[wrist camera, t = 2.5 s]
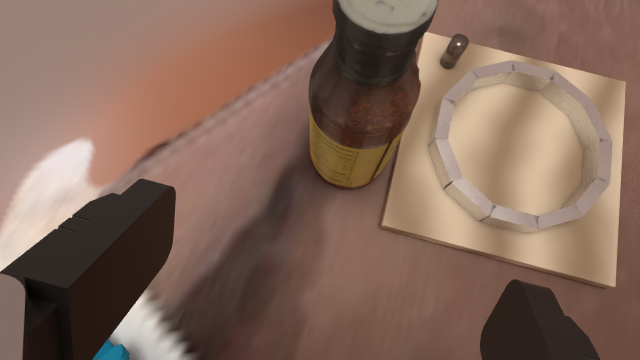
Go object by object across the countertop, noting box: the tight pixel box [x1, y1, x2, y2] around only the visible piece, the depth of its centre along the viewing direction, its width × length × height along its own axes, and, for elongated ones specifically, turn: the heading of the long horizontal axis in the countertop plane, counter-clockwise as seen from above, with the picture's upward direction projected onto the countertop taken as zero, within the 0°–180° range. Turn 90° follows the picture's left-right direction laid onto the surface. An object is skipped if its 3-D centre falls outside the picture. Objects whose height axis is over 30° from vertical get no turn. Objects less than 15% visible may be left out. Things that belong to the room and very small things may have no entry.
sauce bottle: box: [309, 0, 438, 189], centre depth 25 cm, size 7×6×20 cm
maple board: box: [379, 32, 626, 288], centre depth 35 cm, size 18×18×1 cm
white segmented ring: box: [427, 34, 613, 234], centre depth 33 cm, size 14×14×3 cm
